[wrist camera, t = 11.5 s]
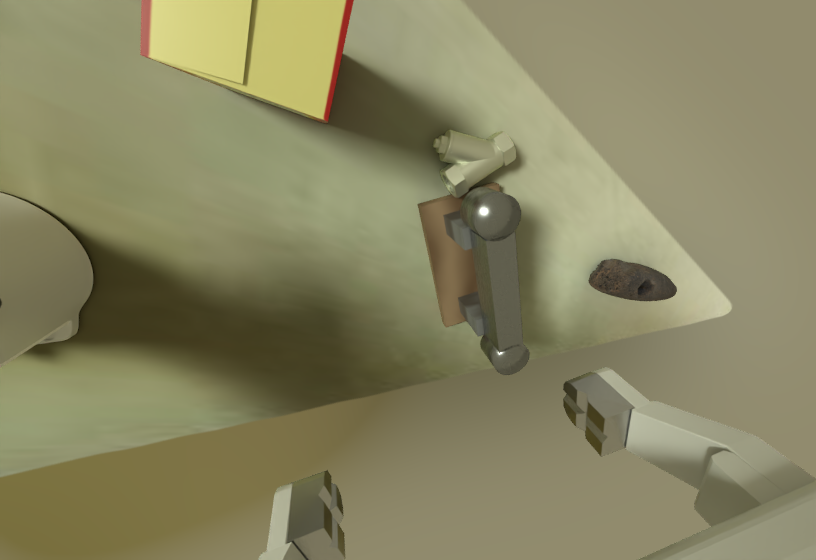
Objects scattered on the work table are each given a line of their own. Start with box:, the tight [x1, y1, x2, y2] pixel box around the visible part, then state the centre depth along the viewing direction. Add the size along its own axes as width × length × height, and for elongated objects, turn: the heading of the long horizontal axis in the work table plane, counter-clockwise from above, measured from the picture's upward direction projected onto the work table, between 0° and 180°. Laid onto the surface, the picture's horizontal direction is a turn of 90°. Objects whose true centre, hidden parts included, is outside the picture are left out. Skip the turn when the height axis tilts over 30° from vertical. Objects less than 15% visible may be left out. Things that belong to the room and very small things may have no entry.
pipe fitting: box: [433, 130, 516, 198], centre depth 36 cm, size 8×4×7 cm
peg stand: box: [418, 182, 500, 336], centre depth 40 cm, size 10×18×8 cm, turn 13°
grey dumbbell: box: [460, 187, 529, 375], centre depth 35 cm, size 4×22×4 cm, turn 14°
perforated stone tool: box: [589, 259, 677, 301], centre depth 48 cm, size 15×5×7 cm, turn 74°
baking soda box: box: [140, 0, 354, 124], centre depth 23 cm, size 10×6×16 cm
